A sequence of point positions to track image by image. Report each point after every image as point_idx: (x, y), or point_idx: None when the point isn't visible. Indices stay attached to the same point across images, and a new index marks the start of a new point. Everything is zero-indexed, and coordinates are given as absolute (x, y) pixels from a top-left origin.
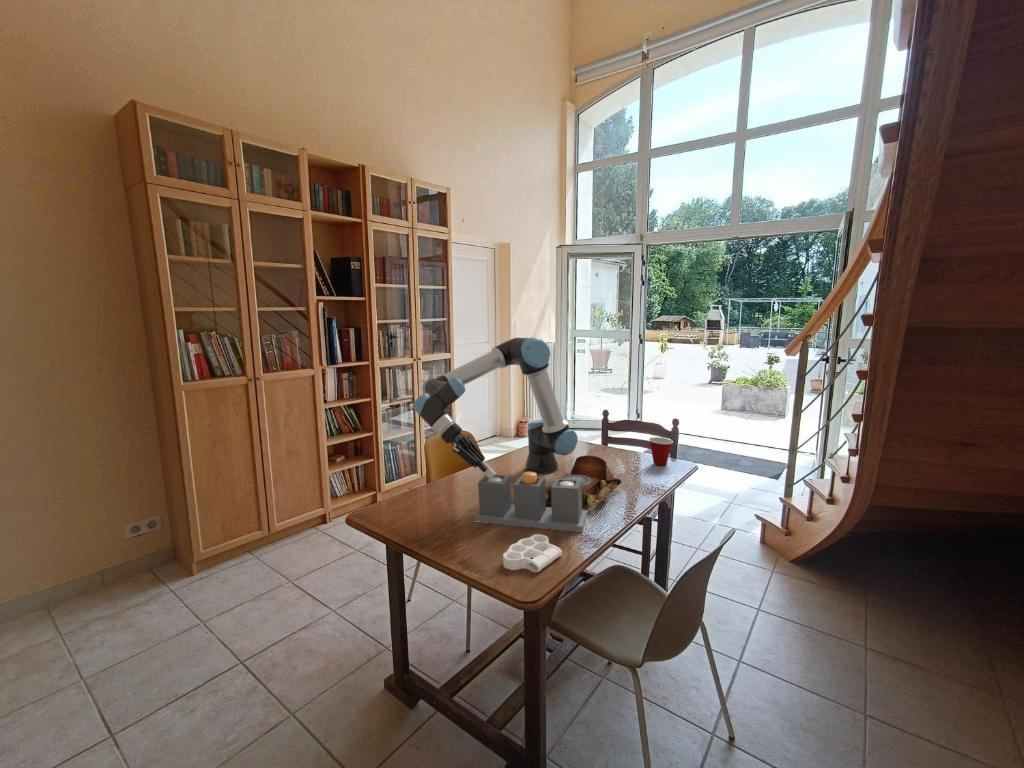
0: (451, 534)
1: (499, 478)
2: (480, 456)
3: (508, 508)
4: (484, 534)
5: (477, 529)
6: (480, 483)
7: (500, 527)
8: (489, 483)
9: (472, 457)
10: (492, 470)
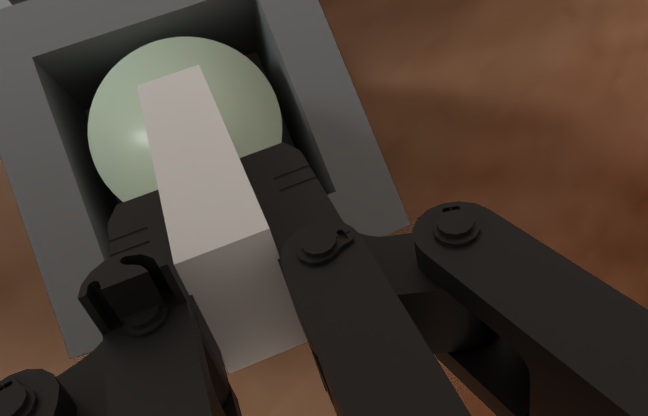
0: (609, 276)
1: (116, 92)
2: (150, 379)
3: None
4: (484, 95)
5: (459, 179)
6: (394, 195)
7: (351, 68)
8: (350, 78)
9: (593, 308)
10: (173, 106)
